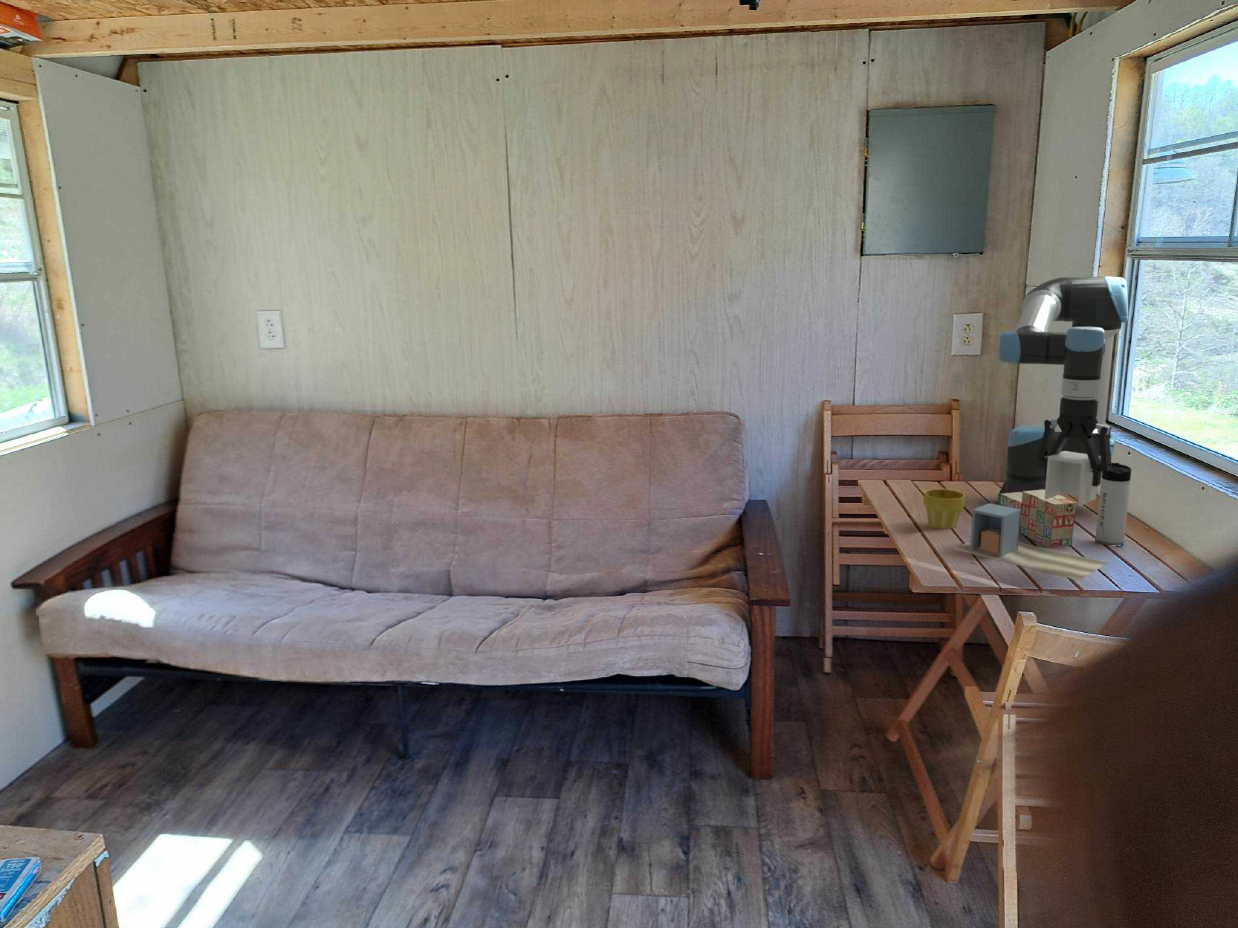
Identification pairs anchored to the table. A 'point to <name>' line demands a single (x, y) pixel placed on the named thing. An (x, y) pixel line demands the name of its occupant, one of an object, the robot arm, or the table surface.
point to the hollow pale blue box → (996, 526)
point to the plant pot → (943, 507)
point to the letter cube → (991, 540)
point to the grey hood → (1068, 475)
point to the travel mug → (1113, 505)
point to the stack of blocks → (1043, 516)
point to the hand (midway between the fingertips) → (1070, 495)
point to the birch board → (1042, 560)
